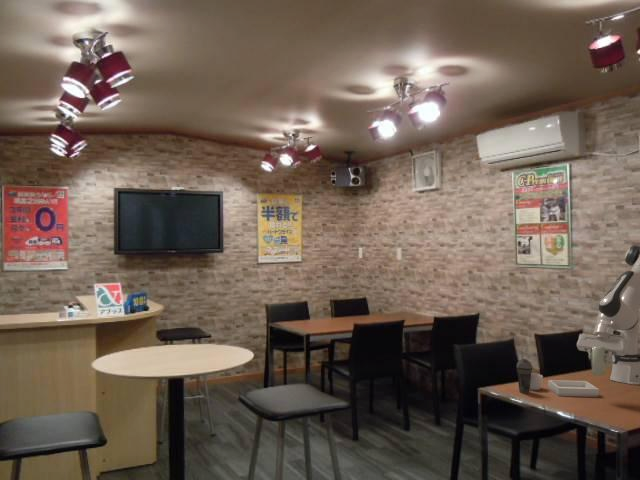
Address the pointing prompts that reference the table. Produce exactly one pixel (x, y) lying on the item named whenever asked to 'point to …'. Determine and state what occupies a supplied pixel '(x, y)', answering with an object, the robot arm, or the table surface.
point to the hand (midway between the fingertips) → (598, 359)
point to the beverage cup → (524, 374)
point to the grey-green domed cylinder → (598, 360)
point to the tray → (573, 388)
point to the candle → (535, 381)
